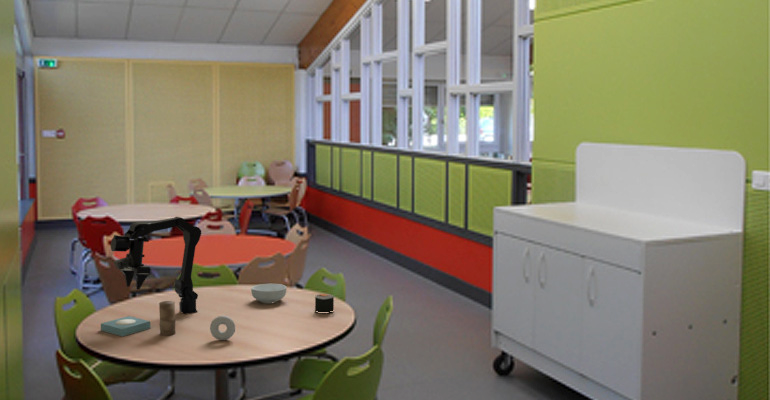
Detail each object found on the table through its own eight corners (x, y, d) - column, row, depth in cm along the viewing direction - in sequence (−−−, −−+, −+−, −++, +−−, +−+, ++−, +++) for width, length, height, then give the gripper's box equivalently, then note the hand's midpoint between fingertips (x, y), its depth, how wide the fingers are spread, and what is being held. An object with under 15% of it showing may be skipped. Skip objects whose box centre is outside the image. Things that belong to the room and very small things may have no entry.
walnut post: (172, 330, 303) (172, 300, 301) (177, 334, 298) (176, 303, 296) (158, 332, 300) (157, 302, 298) (162, 336, 295) (161, 305, 293)
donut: (236, 338, 293) (235, 314, 292) (235, 341, 290) (234, 316, 289) (210, 339, 292) (210, 314, 291) (209, 341, 289) (209, 317, 288)
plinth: (129, 322, 314) (129, 315, 313) (150, 328, 306) (150, 320, 306) (100, 330, 302) (100, 323, 302) (122, 336, 294) (122, 328, 294)
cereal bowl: (293, 300, 354) (293, 285, 353) (270, 307, 340) (270, 293, 339) (267, 295, 363) (267, 281, 362) (244, 302, 349) (243, 288, 348)
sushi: (322, 314, 329) (322, 297, 328) (311, 311, 335) (311, 294, 334) (336, 311, 334) (336, 294, 333) (326, 308, 340) (326, 291, 339)
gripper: (108, 249, 314) (105, 285, 313) (127, 253, 300) (124, 291, 300) (132, 249, 322) (130, 285, 321) (153, 254, 308) (149, 290, 308)
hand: (133, 288), depth 313 cm, fingers open, 9 cm apart
